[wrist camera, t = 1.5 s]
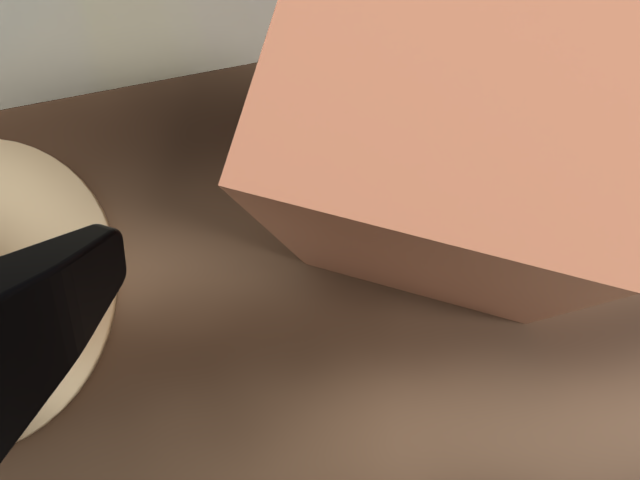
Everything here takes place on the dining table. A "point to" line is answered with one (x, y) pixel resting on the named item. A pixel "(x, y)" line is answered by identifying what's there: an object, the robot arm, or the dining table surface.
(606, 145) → the peach colored cube
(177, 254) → the walnut board
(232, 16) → the dining table surface
